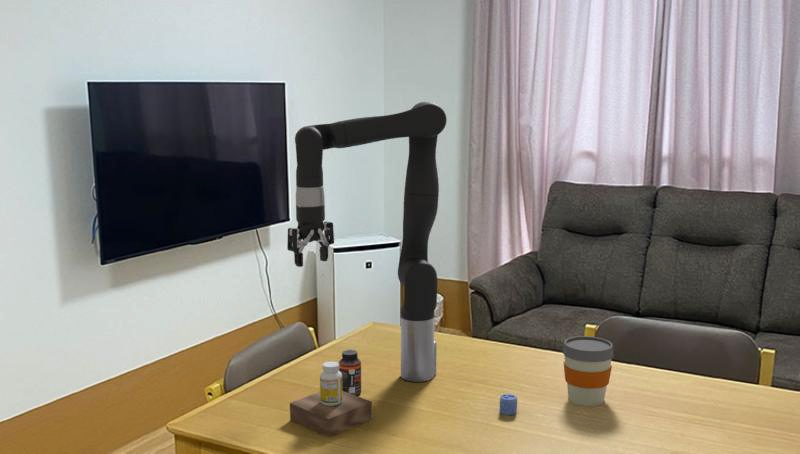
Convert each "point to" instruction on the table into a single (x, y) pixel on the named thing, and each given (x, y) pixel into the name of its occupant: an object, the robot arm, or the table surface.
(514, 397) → the decorative dice
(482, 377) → the table surface
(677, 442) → the table surface
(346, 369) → the supplement bottle
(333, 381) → the supplement bottle
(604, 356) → the reusable coffee cup
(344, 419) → the walnut stand
